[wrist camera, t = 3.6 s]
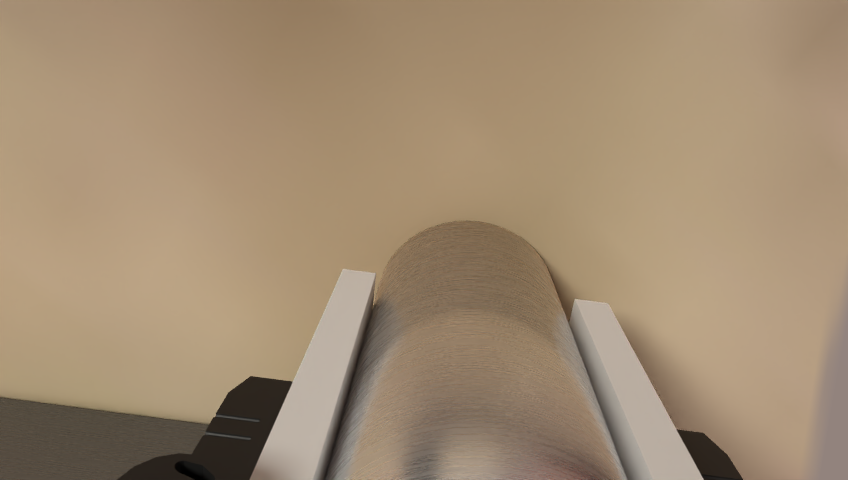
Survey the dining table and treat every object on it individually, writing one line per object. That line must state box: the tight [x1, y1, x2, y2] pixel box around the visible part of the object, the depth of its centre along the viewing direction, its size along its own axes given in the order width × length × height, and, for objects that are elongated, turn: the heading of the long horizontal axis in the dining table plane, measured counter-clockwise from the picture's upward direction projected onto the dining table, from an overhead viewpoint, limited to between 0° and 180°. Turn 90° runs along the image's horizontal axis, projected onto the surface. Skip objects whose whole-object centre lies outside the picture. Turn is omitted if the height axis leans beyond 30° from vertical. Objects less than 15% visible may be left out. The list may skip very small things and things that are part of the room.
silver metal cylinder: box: [325, 221, 627, 480], centre depth 9 cm, size 5×5×12 cm
